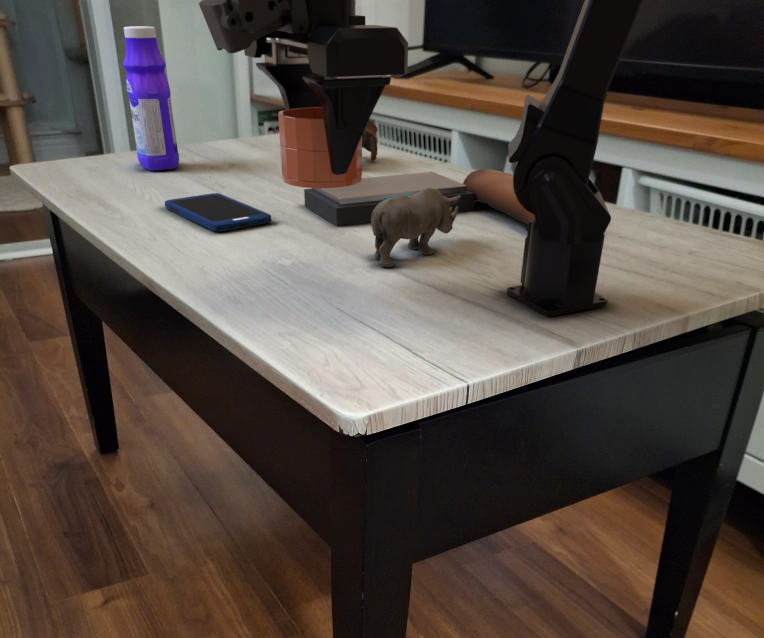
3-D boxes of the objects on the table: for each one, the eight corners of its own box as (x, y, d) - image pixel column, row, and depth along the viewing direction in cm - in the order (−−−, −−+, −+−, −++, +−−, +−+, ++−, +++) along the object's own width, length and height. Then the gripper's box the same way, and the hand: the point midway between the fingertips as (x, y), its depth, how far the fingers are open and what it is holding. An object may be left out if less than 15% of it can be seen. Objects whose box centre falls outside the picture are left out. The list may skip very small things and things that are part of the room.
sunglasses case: (602, 227, 85) (584, 174, 80) (551, 265, 85) (531, 215, 80) (517, 192, 98) (498, 145, 94) (473, 225, 98) (452, 180, 94)
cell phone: (215, 232, 83) (214, 225, 83) (162, 206, 92) (161, 200, 92) (274, 222, 87) (273, 215, 86) (217, 198, 96) (217, 192, 95)
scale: (473, 210, 93) (475, 185, 91) (336, 226, 86) (336, 200, 84) (433, 192, 100) (434, 169, 98) (304, 206, 93) (303, 182, 92)
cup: (375, 184, 63) (375, 116, 60) (300, 191, 60) (296, 121, 57) (342, 168, 67) (341, 105, 64) (271, 175, 65) (266, 109, 62)
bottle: (135, 164, 113) (112, 25, 103) (173, 161, 115) (155, 24, 105) (144, 173, 108) (121, 28, 98) (184, 170, 110) (166, 27, 100)
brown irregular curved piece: (300, 164, 116) (316, 109, 115) (353, 190, 121) (370, 137, 120) (327, 156, 106) (346, 95, 105) (385, 184, 111) (404, 127, 109)
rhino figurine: (473, 241, 82) (478, 181, 78) (390, 270, 73) (391, 205, 70) (443, 233, 84) (446, 175, 81) (359, 262, 76) (358, 198, 72)
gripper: (169, -70, 58) (196, 153, 67) (247, -82, 44) (267, 200, 53) (305, -65, 62) (313, 144, 71) (415, -75, 49) (408, 185, 57)
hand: (322, 165), depth 63 cm, fingers closed on cup, 6 cm apart
